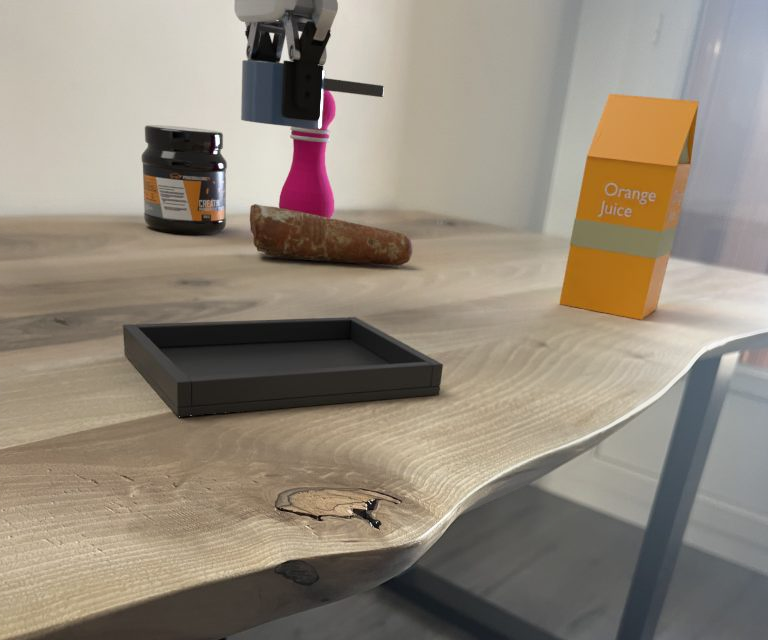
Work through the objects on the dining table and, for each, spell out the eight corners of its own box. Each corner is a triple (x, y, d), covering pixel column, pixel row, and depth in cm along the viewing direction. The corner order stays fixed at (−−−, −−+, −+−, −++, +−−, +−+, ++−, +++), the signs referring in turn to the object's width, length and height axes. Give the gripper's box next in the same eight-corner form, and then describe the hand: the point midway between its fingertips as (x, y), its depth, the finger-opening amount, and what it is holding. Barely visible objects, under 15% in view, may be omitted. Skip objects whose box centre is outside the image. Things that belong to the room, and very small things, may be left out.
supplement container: (168, 236, 100) (165, 129, 95) (129, 223, 107) (125, 122, 102) (241, 235, 107) (243, 135, 102) (201, 222, 114) (200, 127, 108)
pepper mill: (319, 247, 104) (329, 70, 95) (268, 239, 106) (273, 65, 97) (340, 241, 110) (351, 74, 102) (291, 233, 112) (298, 69, 103)
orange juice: (579, 294, 92) (618, 96, 83) (657, 308, 88) (707, 103, 80) (558, 304, 86) (597, 90, 77) (642, 320, 82) (693, 99, 73)
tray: (177, 418, 46) (177, 382, 45) (124, 355, 56) (122, 324, 55) (439, 394, 54) (443, 364, 53) (353, 343, 64) (355, 316, 63)
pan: (259, 123, 65) (261, 59, 63) (229, 117, 70) (230, 59, 68) (395, 136, 71) (400, 79, 69) (358, 130, 76) (362, 76, 74)
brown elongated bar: (249, 250, 97) (250, 200, 94) (407, 263, 100) (412, 215, 97) (247, 259, 91) (248, 207, 89) (414, 273, 94) (420, 222, 92)
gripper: (205, -140, 66) (204, 106, 73) (294, -188, 52) (282, 118, 60) (291, -119, 69) (281, 114, 77) (394, -158, 56) (370, 127, 64)
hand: (282, 114), depth 69 cm, fingers closed on pan, 6 cm apart
